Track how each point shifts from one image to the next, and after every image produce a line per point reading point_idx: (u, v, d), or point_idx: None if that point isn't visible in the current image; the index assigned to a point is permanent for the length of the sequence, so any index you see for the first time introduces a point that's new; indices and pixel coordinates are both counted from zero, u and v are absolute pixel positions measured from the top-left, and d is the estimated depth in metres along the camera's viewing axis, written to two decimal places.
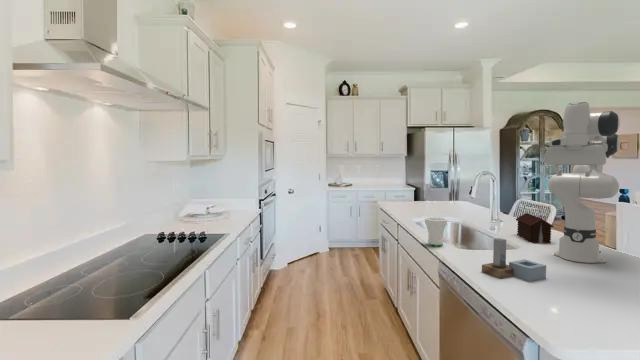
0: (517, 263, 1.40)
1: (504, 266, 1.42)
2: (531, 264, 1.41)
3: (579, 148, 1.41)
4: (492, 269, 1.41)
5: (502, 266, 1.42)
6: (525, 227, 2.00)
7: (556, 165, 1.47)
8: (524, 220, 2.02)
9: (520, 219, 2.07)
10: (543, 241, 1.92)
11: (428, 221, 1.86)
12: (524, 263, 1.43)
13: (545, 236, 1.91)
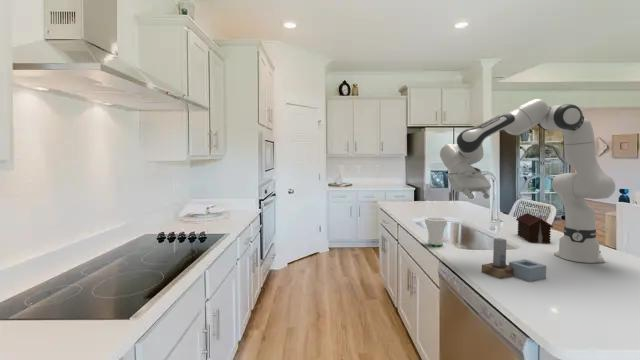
0: (517, 263, 1.40)
1: (504, 266, 1.42)
2: (531, 264, 1.41)
3: None
4: (492, 269, 1.41)
5: (502, 266, 1.42)
6: (525, 227, 2.01)
7: None
8: (524, 220, 2.03)
9: (520, 219, 2.07)
10: (542, 241, 1.92)
11: (428, 221, 1.86)
12: (524, 263, 1.43)
13: (544, 236, 1.91)
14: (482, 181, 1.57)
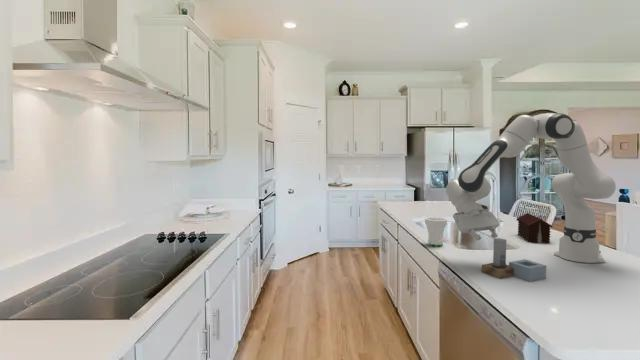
0: (517, 263, 1.40)
1: (504, 266, 1.42)
2: (531, 264, 1.41)
3: None
4: (492, 269, 1.41)
5: (502, 266, 1.42)
6: (525, 227, 2.01)
7: None
8: (524, 220, 2.03)
9: (520, 219, 2.07)
10: (542, 241, 1.92)
11: (428, 221, 1.86)
12: (524, 263, 1.43)
13: (544, 236, 1.91)
14: (490, 219, 1.54)
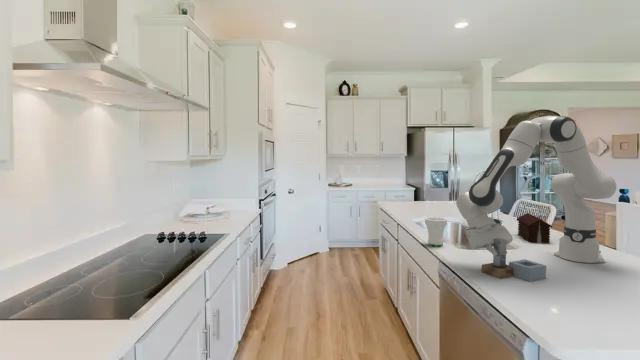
0: (517, 263, 1.40)
1: (504, 266, 1.42)
2: (531, 264, 1.41)
3: None
4: (492, 269, 1.41)
5: (502, 266, 1.42)
6: (524, 227, 2.01)
7: None
8: (524, 220, 2.03)
9: (520, 219, 2.07)
10: (542, 241, 1.92)
11: (428, 221, 1.86)
12: (524, 263, 1.43)
13: (544, 236, 1.91)
14: (503, 234, 1.48)
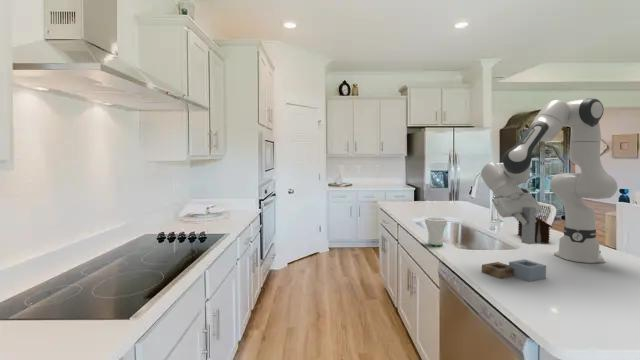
0: (517, 263, 1.40)
1: (533, 235, 1.38)
2: (531, 264, 1.41)
3: None
4: (492, 269, 1.41)
5: (531, 235, 1.37)
6: None
7: None
8: None
9: None
10: (541, 241, 1.92)
11: (428, 221, 1.86)
12: (524, 263, 1.43)
13: (543, 236, 1.91)
14: (531, 203, 1.44)
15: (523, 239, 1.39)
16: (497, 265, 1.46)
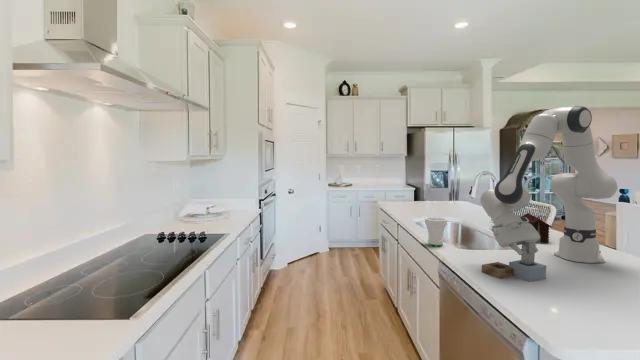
0: (517, 263, 1.40)
1: None
2: None
3: None
4: (492, 269, 1.41)
5: None
6: None
7: None
8: None
9: None
10: (541, 241, 1.92)
11: (428, 221, 1.86)
12: None
13: (543, 236, 1.91)
14: (530, 232, 1.45)
15: None
16: (497, 265, 1.46)
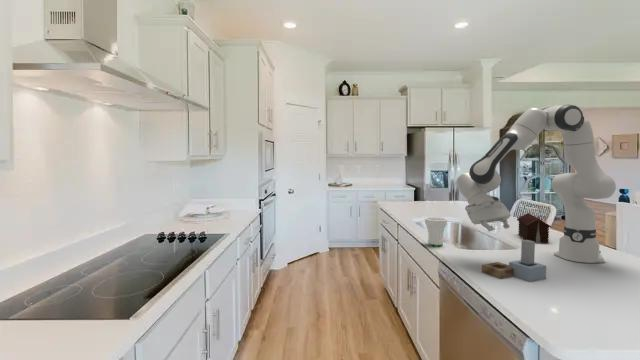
0: (517, 263, 1.40)
1: None
2: None
3: None
4: (492, 269, 1.41)
5: None
6: (524, 227, 2.01)
7: None
8: (523, 220, 2.03)
9: (520, 219, 2.07)
10: (540, 241, 1.92)
11: (428, 221, 1.86)
12: None
13: (542, 236, 1.91)
14: (501, 210, 1.57)
15: None
16: (497, 265, 1.46)
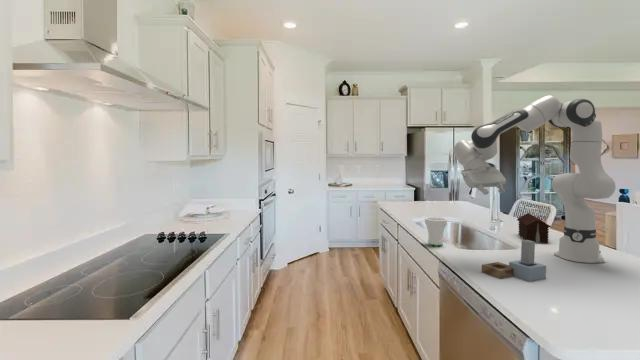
0: (517, 263, 1.40)
1: None
2: None
3: None
4: (492, 269, 1.41)
5: None
6: (524, 227, 2.01)
7: None
8: (523, 220, 2.03)
9: (520, 219, 2.07)
10: (540, 241, 1.92)
11: (428, 221, 1.86)
12: None
13: (542, 236, 1.91)
14: (497, 176, 1.58)
15: None
16: (497, 265, 1.46)
